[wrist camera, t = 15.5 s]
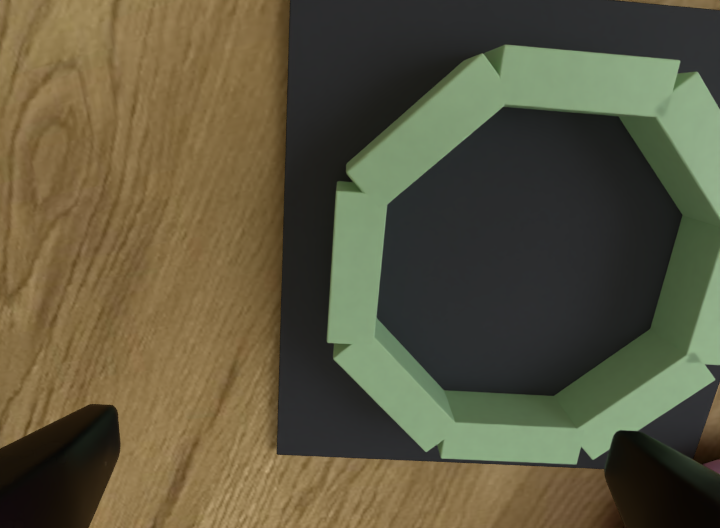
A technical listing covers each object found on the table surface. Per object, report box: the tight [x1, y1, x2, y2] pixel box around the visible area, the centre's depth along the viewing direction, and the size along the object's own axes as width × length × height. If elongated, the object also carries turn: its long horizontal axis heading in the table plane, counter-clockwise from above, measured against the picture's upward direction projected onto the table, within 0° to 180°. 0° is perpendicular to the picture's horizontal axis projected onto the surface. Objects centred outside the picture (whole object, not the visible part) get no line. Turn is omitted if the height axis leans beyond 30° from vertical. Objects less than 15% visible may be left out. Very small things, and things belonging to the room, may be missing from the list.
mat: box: [277, 0, 720, 469], centre depth 20 cm, size 20×20×1 cm
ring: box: [327, 45, 720, 464], centre depth 19 cm, size 16×16×2 cm
